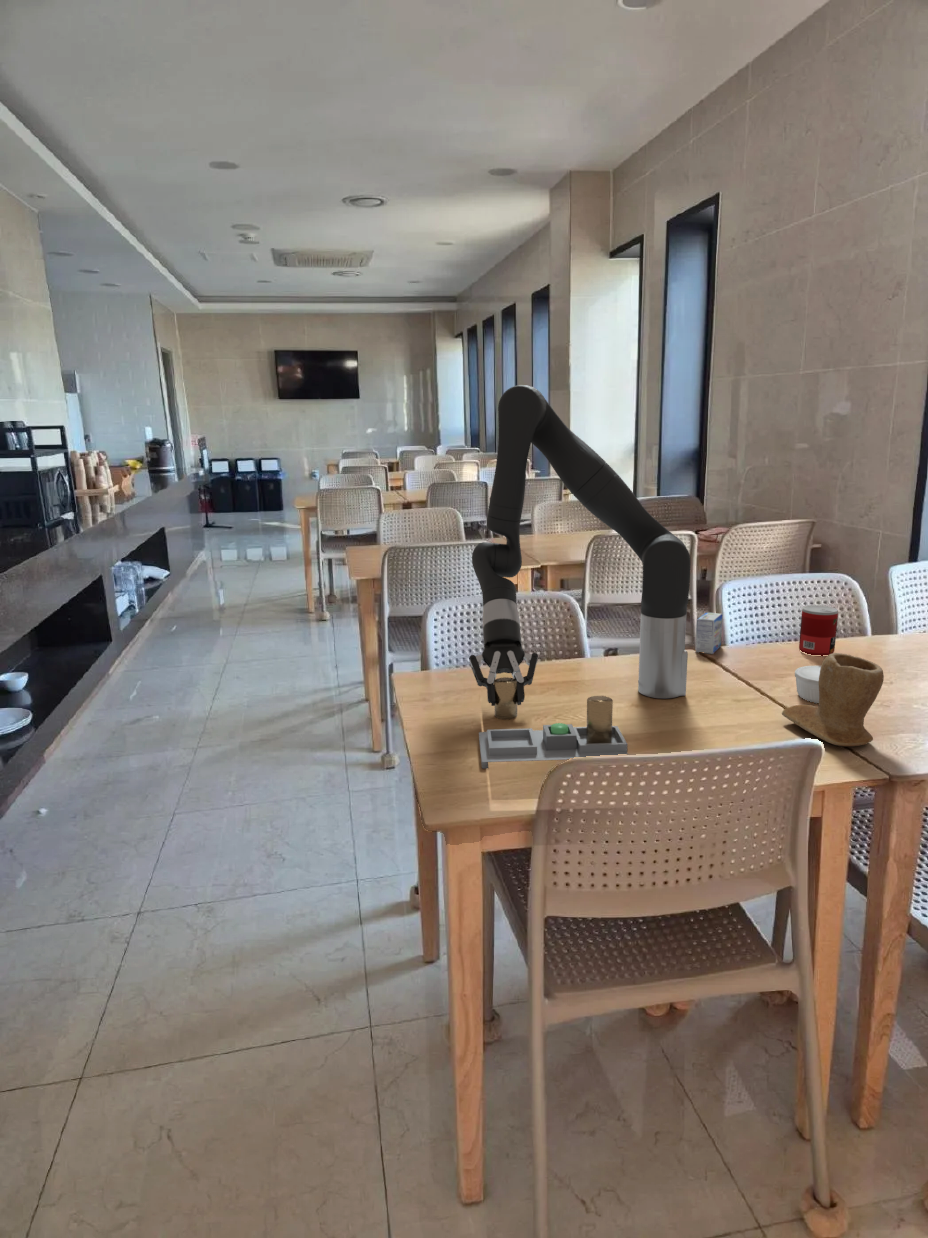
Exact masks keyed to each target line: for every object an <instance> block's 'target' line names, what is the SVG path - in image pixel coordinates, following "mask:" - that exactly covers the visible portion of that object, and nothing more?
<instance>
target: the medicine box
mask: <svg viewBox="0 0 928 1238" xmlns="http://www.w3.org/2000/svg"><path fill="white" fill-rule="evenodd" d="M695 623H696V625H695V649H694V650H696V651H695V653H699V652H704V653H703V654H706V655H707V654H709V655H713V654H715V653H716V651H718V649H719V648H720V647H722V631H723V630H722V629H723V613H720V612H719V613H718V612H717V613H715V612H704V614H702V615H701V616H700V617H698V618H697V619H696V622H695Z"/></svg>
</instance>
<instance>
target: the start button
mask: <svg viewBox="0 0 928 1238" xmlns="http://www.w3.org/2000/svg"><path fill="white" fill-rule="evenodd" d="M550 725H551V734H568V725H566V723H563V722H561V723H560V722H558V723H557V722H556V723H553V724H550Z"/></svg>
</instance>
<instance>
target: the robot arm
mask: <svg viewBox="0 0 928 1238" xmlns="http://www.w3.org/2000/svg"><path fill="white" fill-rule="evenodd" d="M497 413H498V415H497V416H498V418H497V419H498V421H497V423H498V437H497V439H498V440H497V455H496V462H495V463H496V464H495V469H494V475H493V481H492V487H491V491H490V492H491V493H490V499H489V503H488V504H489V506H488V512H487V516H486V528H487V529H488V530H489V531H490V532H493V533H496V534H498V535H501V536H503V537H505V539H506V540H505V541H506V543H496V542H487V541H483V542H480V543H478V544H477V545H476V546H475V547H474V549H473V550H472V554H471V556H472V557H471V564H472V566H473V567H472V568H473V571H474V574H475V576H476V579H477V581H478V584H479V587H480V590H481V594H482V627H481V628H482V633H483V634H482V635H483V651H482V652H481V654H479V655H475V654H471V655H470V656H469V665H470V668H471V670H472V674H473V675H474V678H475V681H476V684H477V686H478V687H484V688H486V694H487V696H486V697H487V702H488V704H491V706H492V707H495V687H494V680H495V679H497V675H498V674H504V673H506V674H511V677H512V678H514V679H516V680H517V706H521V705H522V703H524V702H525V686H530V685H532V683H533V681H534V676H535V672H536V668H537V663H538V660H539V659H538V658H539V655H538V653H536V652H533V653H532V654H531V653H527V652H525V650H524V648H523V646H522V636H521V633H522V631H521V622H520V614H519V609H518V602H517V601H518V599H517V590H516V585H515V583H514V582H513V581H512V580H510V579H511V578H514V577H516V576H517V575H518V574H519V573H520V571H521V569H522V565H523V561H522V560H523V557H522V556H523V555H522V551H521V540H520V539H521V538H520V530H521V529H520V528H521V519H522V514H523V510H524V509H523V508H524V502H525V501H524V500H525V494H526V477H527V463H528V459H529V452H530V449H531V444H532V445H533V446H534V447H536V449H537V450H538V451H540V452H541V453H542V455H543V456H544V457H545V458H546V459H547V461H548V463H549V464H550V465H551V467H552V469H553V471H554V472H555V473H556V475H557V477H558V478H559V479H560V481H561V482H562V483H563V485H564V486H565V487H566V488H567V489H568V491H569V492H570V493H571V494H572V495H573V496H574V497H575V498H576V499H577V501H578V502H580V504H581V505H582V506H583V507H584V508H585V509H586V510H587V511H589V512H590V514H592V515H593V516H594V517H596V518H597V519H598V520H599V521H601V522H602V523H603V524H605V525H606V526H608V527H609V528H610V529H612V530H614V531H615V533H617V534H618V536H620V537H621V538H622V539H623V540H624V542H626V543H627V545H628V546H629V547H630V548H631V549H632V550H633V552H634V554H636V556H637V557H638V559H640V561H641V563H642V583H641V585H642V586H641V599H640V624H639V626H640V628H639V629H640V630H639V652H638V653H639V654H638V655H639V656H638V680H637V683H638V684H637V685H638V686H637V687H638V689H637V690H638V691H637V692H639V693H640V694H641V695H643V696H645V697H648V698H654V699H675V698H678V697H681V696H686V695H687V678H688V677H687V675H688V655H689V653H688V650H687V649H686V636H687V635H686V633H687V631H686V630H687V615H688V614H687V613H688V611H687V610H688V603H689V598H690V596H689V595H690V584H691V583H690V581H691V554H690V552H689V549H688V548H687V546H686V544H685V543H684V542H683V541H682V540H681V538H679V537H677V536H676V535H675V534H673V533H672V532H671V531H670V530H669V529H667V528H666V527H665V526H664V525H662V524H661V522H659V521H658V520H656V519H655V517H654V516H652V515H651V514H650V513H649V512H648V511H647V510H646V508H645V507H644V506H643V504H642V503H641V502H640V500H639V499H638V498H637V497H636V494H635V493H634V492H633V491H632V490H631V489H630V487H629V486H628V485H627V483H626V482H625V481H624V480H623V479H622V477H621V476H620V475H619V474H618V473H617V472H616V470H614V469H613V468H612V466H611V465H609V463H607V462H606V461H605V460H604V458H602V457H601V455H600V454H598V453H597V452H596V451H595V450H594V449H593V448H592V447H591V446H590V445H588V444H587V443H586V442H585V441H584V440H582V439H581V438H580V436H578V435H576V434H575V433H574V431H572V430H571V429H570V428H569V427H568V426H567V425H566V424H565V423H564V422H563V420H562V419H561V418H560V416H559V415H558V414H557V413H556V411H555V410H554V409H553V408H552V406H551V405H550V404H549V401H547V399H546V397H545V396H544V395H543V393H541V391H540V390H538V389H537V388H536V387H533V386H530V385H525V384H518V385H515V386H514V385H513V386H511V387H510V388H508V389H506V390H505V391H504V392H503V394H502V395H501V397H500V399H499V401H498V405H497ZM508 578H509V579H508ZM524 660H525V664H526V665H527V666H528V669H527V674H526V675H524V676H523V675H522V672H521V668H520V665H521V664H522V663H523V661H524ZM482 662H483V663H484V664H485V665H487V667H488V668H489V673H488V676H487V677H484V674H483V673H482V670H481V667H482Z"/></svg>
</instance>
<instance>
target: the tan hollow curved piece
mask: <svg viewBox="0 0 928 1238" xmlns="http://www.w3.org/2000/svg"><path fill="white" fill-rule="evenodd" d="M820 666H821V669H820V675H819V704H818V706H815V705H811V704H797V705H796V704H795V705H792V706H789V707H786V708H785V709H783V710H782V712H781V715H782V716H783V717H784V718H786V719H787V720H789V721H790V722H792V723H793V724H795V725H797V726H798V727H800V728H802V729H803V730H805V731H806V732H808V733H809V734H811V735H814V736H815V737H817V738H818V739H821V740H823V741H824V742H826V743H829V744H832V745H834V746H839V747H858V746H859V747H860V746H864V745H867V744H869V743H871V742H873V740H874V737H873V735H872V734H871V733H870V732H869V731H868V730H867V728H865V726H864V723H865V717H866V716H867V714H868V712H869V710H870V708H872V705H873V704H874V703H875V701H876V699H877V697H878V695H879V694H880V693H879V692H880V691H881V689H882V687H883V683H884V677H885V676H884V671H883V668H882V667H881V666H880V665H879V664H877V663H876V662H873V661H870V660H868V659H865V658H861V657H859V656H854V655H851V654H847V653H841V652H834V653H832V654H829V655H828V656H825V657H824V659H823V661H822V663H821V665H820Z"/></svg>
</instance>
